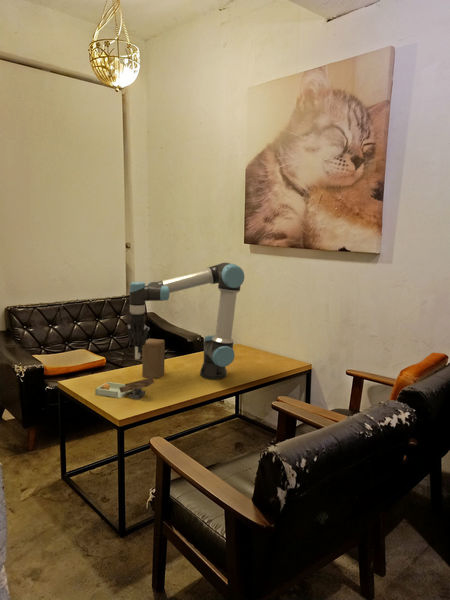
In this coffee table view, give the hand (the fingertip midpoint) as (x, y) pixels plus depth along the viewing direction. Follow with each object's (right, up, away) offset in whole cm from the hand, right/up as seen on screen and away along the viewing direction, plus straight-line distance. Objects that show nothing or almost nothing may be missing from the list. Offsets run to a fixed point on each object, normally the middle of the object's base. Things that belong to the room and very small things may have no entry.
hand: (137, 358), depth 230 cm
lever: (+3, -13, -5) cm, 14 cm away
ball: (-15, -14, -3) cm, 21 cm away
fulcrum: (+1, -18, -7) cm, 19 cm away
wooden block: (+4, -13, +25) cm, 28 cm away
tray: (-11, -17, -4) cm, 20 cm away
